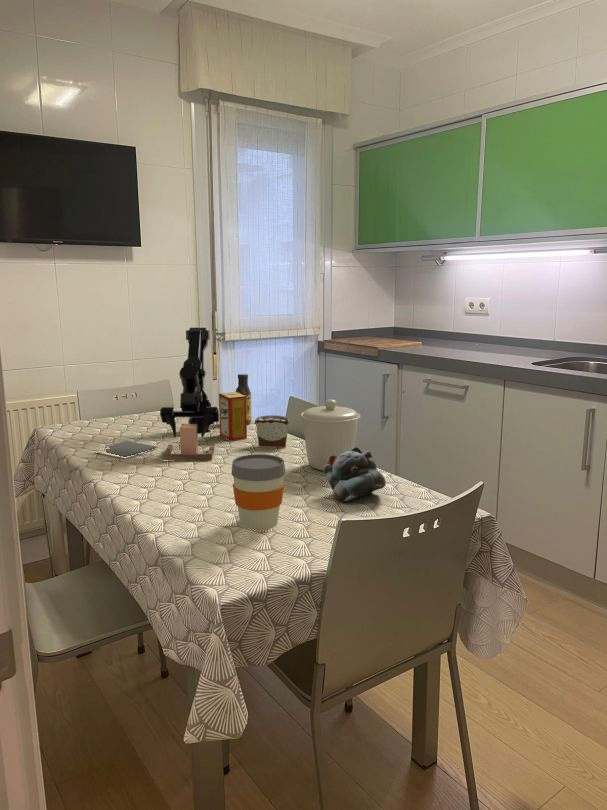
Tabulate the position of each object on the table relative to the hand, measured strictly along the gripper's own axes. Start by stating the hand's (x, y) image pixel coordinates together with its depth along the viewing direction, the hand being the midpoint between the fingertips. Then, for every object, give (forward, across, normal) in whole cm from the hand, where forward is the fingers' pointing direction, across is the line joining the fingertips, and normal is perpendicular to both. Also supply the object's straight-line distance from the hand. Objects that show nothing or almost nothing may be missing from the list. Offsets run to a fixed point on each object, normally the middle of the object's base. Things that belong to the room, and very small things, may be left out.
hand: (188, 436), depth 199 cm
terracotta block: (+4, 0, +6) cm, 7 cm away
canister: (+14, +44, -4) cm, 47 cm away
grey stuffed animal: (+33, +48, -23) cm, 62 cm away
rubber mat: (-1, -22, +10) cm, 24 cm away
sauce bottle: (-28, +16, +38) cm, 50 cm away
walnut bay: (+4, 0, +6) cm, 7 cm away
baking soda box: (-13, +13, +23) cm, 29 cm away
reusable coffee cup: (+45, +22, -35) cm, 61 cm away
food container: (-4, +28, +14) cm, 31 cm away
